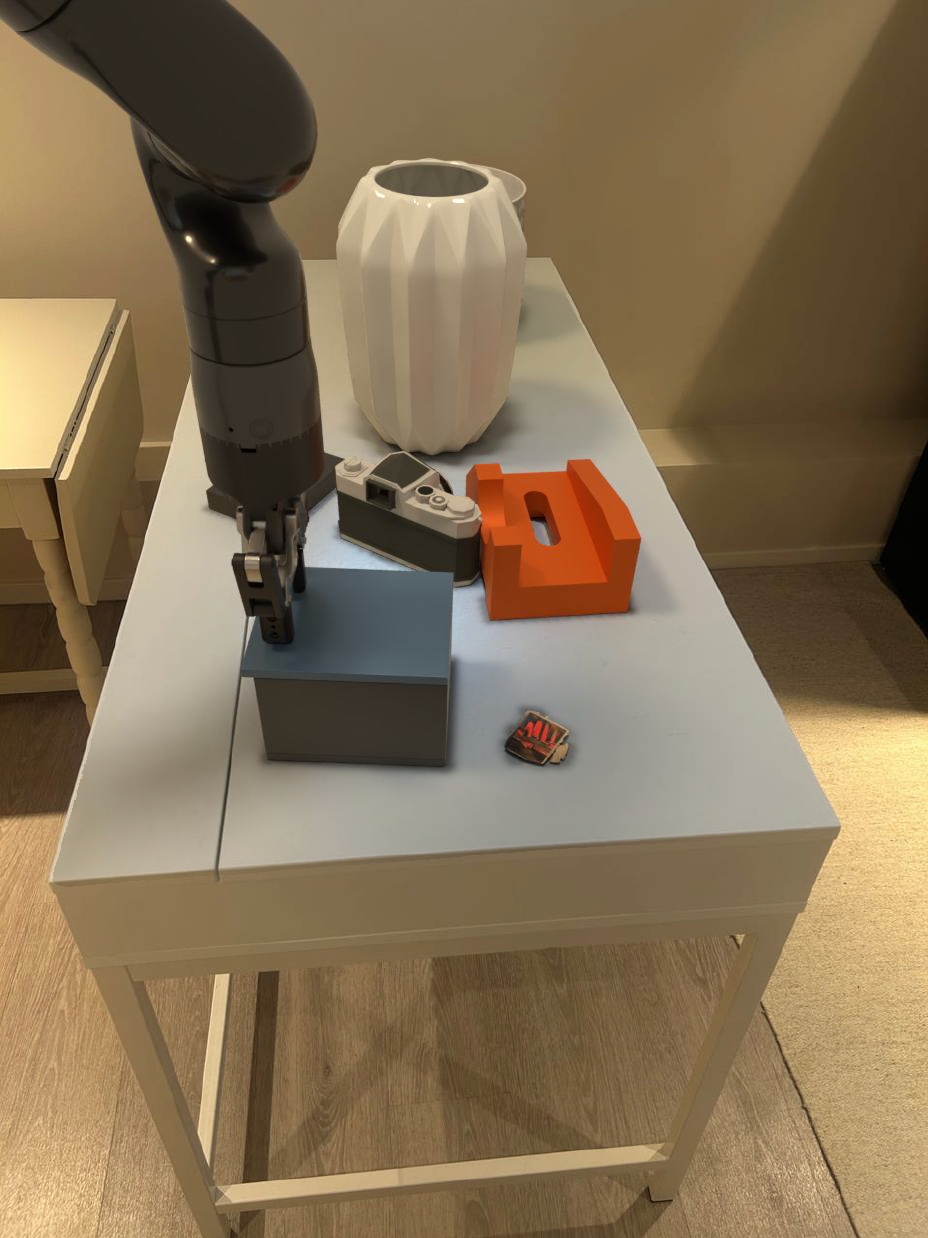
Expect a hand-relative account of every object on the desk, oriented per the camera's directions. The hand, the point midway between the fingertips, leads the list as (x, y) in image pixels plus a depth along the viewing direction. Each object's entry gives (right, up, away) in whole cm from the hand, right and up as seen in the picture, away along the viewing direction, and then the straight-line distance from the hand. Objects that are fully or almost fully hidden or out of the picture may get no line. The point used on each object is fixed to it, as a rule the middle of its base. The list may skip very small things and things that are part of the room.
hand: (285, 613), depth 69 cm
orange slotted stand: (+21, +6, +22) cm, 31 cm away
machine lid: (+5, -1, +1) cm, 5 cm away
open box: (+5, -8, +7) cm, 11 cm away
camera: (+9, +7, +23) cm, 26 cm away
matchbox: (+19, -10, +4) cm, 22 cm away
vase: (+9, +21, +40) cm, 46 cm away
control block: (-6, +13, +29) cm, 32 cm away
